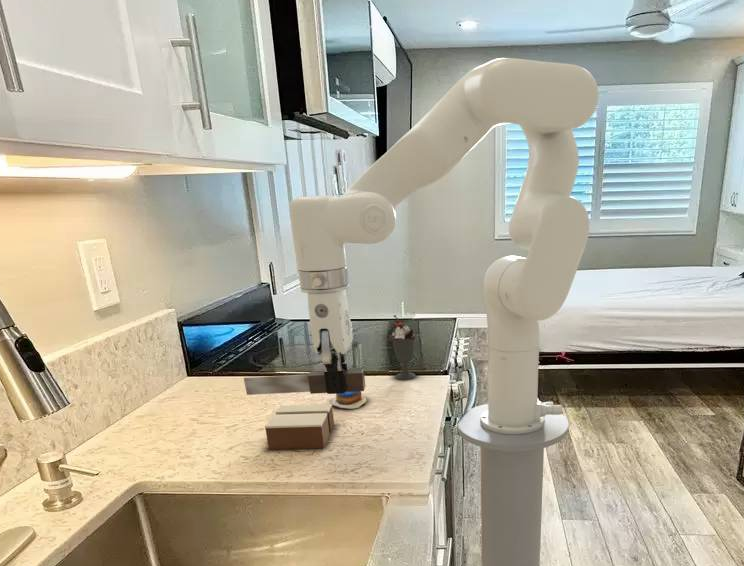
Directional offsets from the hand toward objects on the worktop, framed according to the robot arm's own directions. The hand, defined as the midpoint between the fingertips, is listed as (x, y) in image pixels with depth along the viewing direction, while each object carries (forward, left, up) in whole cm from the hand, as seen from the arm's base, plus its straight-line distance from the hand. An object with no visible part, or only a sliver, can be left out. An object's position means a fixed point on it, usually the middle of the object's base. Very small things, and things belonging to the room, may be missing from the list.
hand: (338, 388), depth 96 cm
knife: (+6, 0, 0) cm, 6 cm away
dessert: (+3, -24, -12) cm, 27 cm away
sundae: (-8, -41, -12) cm, 44 cm away
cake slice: (+9, -10, -12) cm, 18 cm away
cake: (+9, -4, -12) cm, 16 cm away
